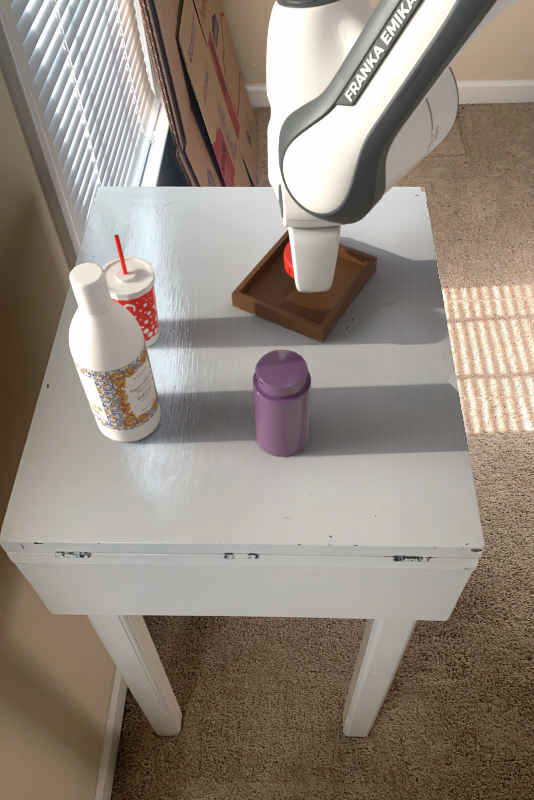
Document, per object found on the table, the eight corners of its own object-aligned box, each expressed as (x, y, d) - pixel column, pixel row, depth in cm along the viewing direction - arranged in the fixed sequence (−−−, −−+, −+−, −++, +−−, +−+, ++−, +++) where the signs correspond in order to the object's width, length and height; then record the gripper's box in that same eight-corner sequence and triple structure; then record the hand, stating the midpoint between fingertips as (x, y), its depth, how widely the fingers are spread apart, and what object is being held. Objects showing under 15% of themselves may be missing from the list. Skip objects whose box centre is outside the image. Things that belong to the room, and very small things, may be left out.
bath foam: (134, 455, 72) (90, 314, 55) (84, 426, 74) (27, 282, 57) (175, 411, 75) (144, 264, 58) (126, 384, 77) (83, 236, 60)
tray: (290, 238, 90) (290, 225, 89) (375, 270, 87) (377, 257, 85) (232, 305, 84) (231, 293, 82) (321, 342, 80) (322, 330, 78)
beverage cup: (103, 339, 81) (73, 241, 69) (138, 309, 84) (114, 209, 72) (142, 361, 79) (118, 264, 67) (176, 329, 82) (159, 231, 70)
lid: (285, 283, 81) (285, 271, 79) (282, 247, 84) (282, 235, 82) (336, 281, 81) (337, 269, 79) (332, 245, 84) (333, 233, 82)
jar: (289, 406, 75) (290, 337, 66) (318, 441, 72) (323, 374, 64) (245, 429, 73) (240, 361, 65) (274, 465, 71) (273, 400, 62)
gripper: (276, 107, 77) (277, 214, 88) (284, 224, 65) (284, 329, 77) (332, 105, 77) (326, 212, 88) (350, 222, 65) (340, 327, 77)
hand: (306, 267), depth 83 cm, fingers closed on lid, 6 cm apart
